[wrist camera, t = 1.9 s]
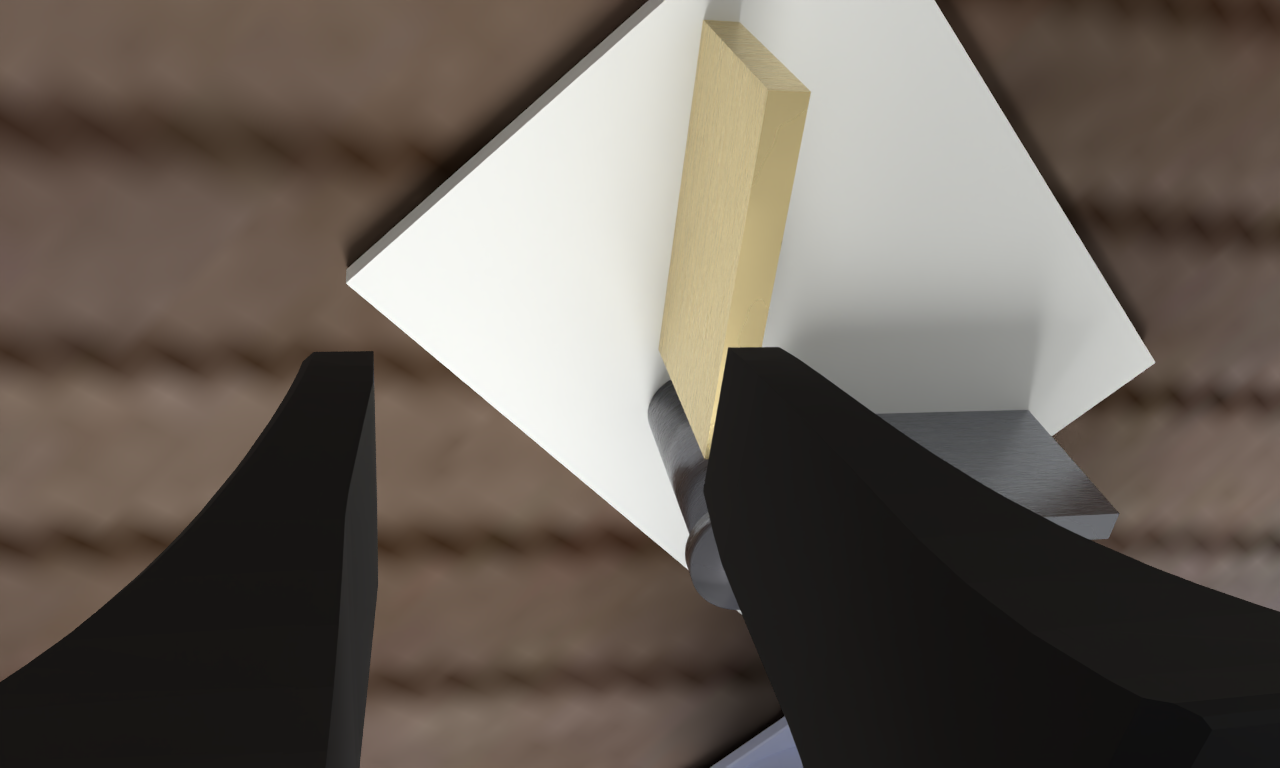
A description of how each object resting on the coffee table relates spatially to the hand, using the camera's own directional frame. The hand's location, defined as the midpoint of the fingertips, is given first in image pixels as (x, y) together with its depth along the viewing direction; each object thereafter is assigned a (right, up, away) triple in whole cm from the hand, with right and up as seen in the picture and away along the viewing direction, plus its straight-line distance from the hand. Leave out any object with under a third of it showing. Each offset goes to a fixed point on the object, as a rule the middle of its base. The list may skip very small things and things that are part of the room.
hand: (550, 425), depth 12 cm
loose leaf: (+2, +4, +10) cm, 11 cm away
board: (+4, +2, +12) cm, 13 cm away
